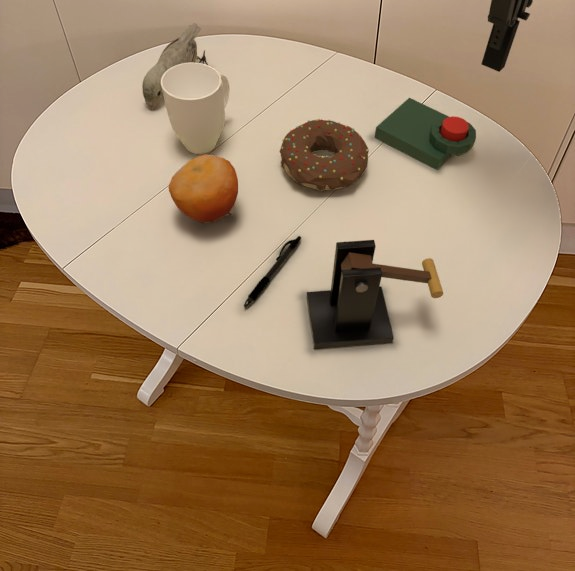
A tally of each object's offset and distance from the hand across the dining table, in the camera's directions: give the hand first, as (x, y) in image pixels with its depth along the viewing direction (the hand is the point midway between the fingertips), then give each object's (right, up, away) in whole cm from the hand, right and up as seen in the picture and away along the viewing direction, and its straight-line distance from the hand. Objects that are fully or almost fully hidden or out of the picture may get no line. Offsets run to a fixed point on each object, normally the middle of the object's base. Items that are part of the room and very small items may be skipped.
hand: (492, 65), depth 80 cm
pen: (-30, -28, +1) cm, 41 cm away
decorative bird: (-47, +6, +26) cm, 54 cm away
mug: (-41, -6, +17) cm, 45 cm away
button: (-2, -6, +13) cm, 15 cm away
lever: (-16, -29, -10) cm, 34 cm away
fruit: (-39, -19, +8) cm, 45 cm away
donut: (-22, -11, +14) cm, 28 cm away
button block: (-5, -6, +17) cm, 19 cm away
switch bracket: (-20, -34, -3) cm, 39 cm away
